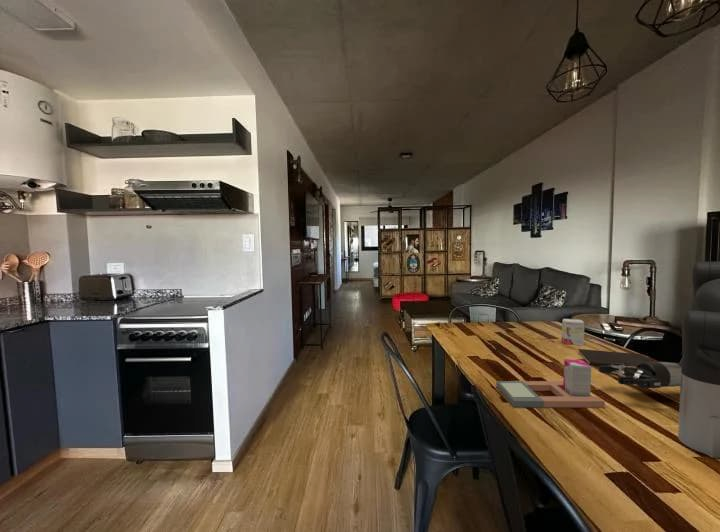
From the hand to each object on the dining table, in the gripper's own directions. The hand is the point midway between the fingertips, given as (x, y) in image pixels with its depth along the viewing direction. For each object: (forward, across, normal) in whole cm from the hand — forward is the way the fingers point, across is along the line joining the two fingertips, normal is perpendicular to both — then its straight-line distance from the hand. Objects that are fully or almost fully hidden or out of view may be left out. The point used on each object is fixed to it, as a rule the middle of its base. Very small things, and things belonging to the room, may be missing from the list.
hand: (608, 374), depth 101 cm
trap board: (+20, 0, +7) cm, 21 cm away
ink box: (-22, -54, +8) cm, 59 cm away
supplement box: (+10, 0, +7) cm, 13 cm away
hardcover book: (-25, -30, +8) cm, 40 cm away
